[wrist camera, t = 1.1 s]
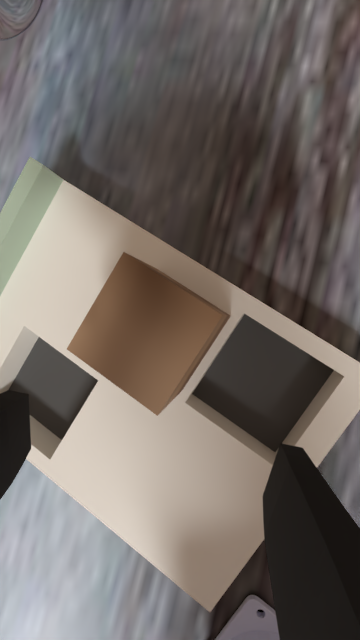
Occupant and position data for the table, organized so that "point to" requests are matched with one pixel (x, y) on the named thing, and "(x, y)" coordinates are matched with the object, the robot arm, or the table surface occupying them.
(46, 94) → the table surface
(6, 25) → the beer glass
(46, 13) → the table surface
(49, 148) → the table surface
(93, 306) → the walnut block
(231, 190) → the table surface
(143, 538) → the trap board
